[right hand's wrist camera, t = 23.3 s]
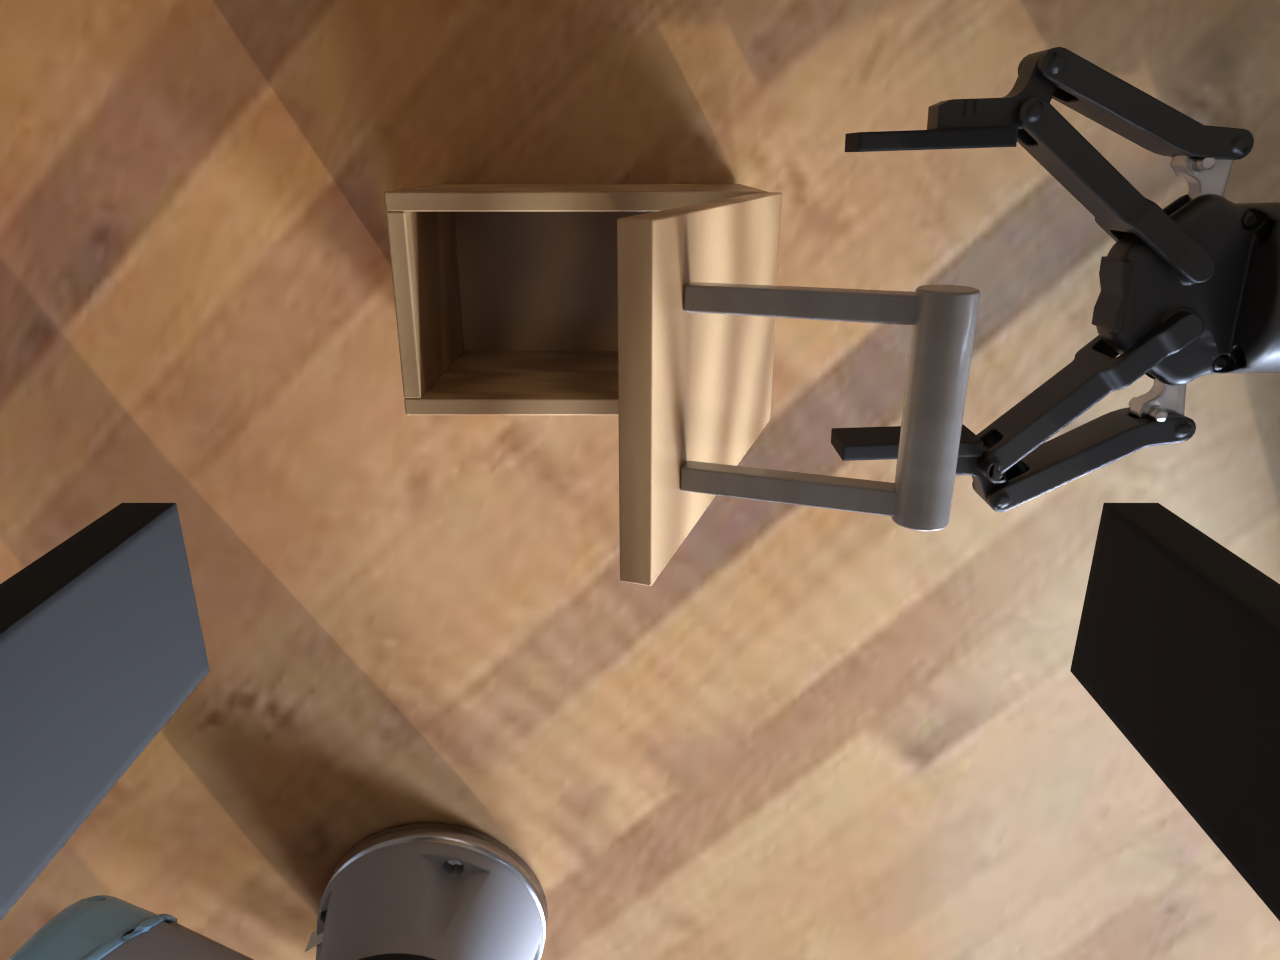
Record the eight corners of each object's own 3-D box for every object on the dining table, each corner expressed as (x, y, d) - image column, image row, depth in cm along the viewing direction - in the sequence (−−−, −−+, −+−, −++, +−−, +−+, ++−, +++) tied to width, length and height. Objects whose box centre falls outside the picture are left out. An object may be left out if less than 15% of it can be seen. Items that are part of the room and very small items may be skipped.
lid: (619, 581, 23) (939, 632, 20) (615, 218, 20) (994, 227, 17) (749, 417, 37) (946, 436, 34) (759, 192, 34) (977, 195, 31)
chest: (454, 361, 47) (405, 415, 37) (441, 183, 44) (383, 191, 34) (733, 361, 47) (758, 415, 37) (740, 183, 44) (769, 191, 34)
